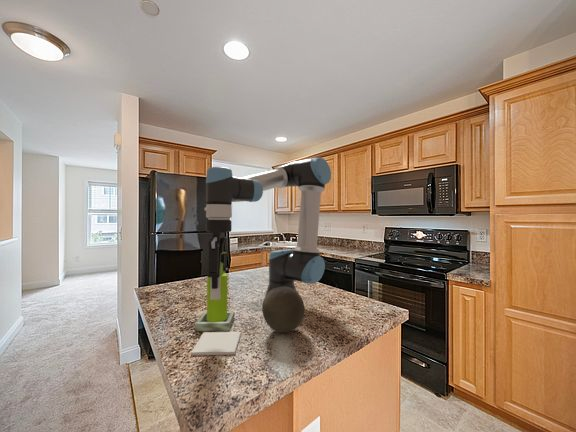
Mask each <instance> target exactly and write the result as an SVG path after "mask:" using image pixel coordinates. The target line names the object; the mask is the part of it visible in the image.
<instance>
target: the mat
mask: <svg viewBox="0 0 576 432" xmlns="http://www.w3.org/2000/svg"><path fill="white" fill-rule="evenodd" d="M241 333H242V332H241V331H203V333H202V335H201V336H200V337H199V339H198V340H197V343H196V344H195V345H194V347H193V348H192V351H191V352H190V356H215V355H216V356H222V355H223V356H225V355H230V356H231V355H234V354H236V352H237V348H238V344H239V342H240V338H241V335H242V334H241Z"/></svg>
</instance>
